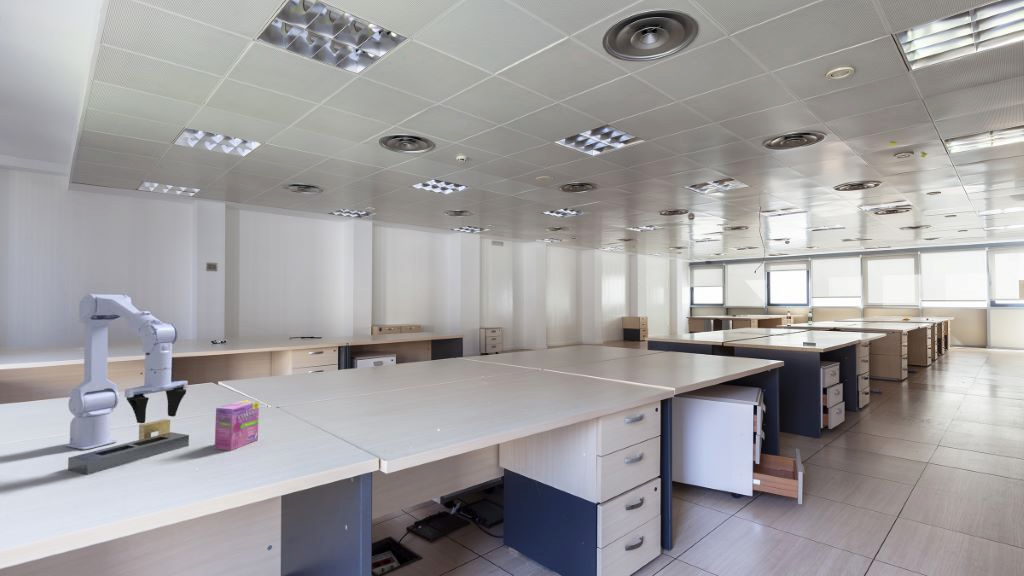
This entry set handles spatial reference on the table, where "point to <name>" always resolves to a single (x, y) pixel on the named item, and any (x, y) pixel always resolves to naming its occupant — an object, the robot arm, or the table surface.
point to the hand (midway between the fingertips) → (156, 419)
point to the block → (126, 452)
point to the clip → (154, 428)
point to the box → (236, 425)
